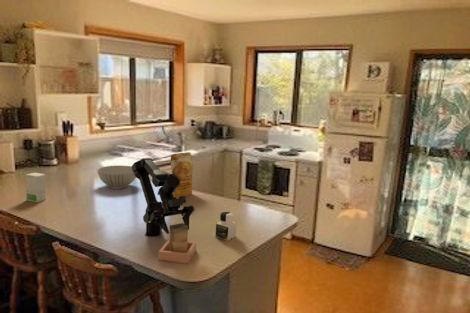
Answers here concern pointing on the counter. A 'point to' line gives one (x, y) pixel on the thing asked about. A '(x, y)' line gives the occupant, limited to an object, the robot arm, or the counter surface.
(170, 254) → the pink square tray
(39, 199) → the skincare box
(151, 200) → the robot arm
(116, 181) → the decorative bowl
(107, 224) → the counter surface
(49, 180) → the counter surface
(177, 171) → the pancake mix bag
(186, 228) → the brown rectangular block
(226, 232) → the medicine bottle
